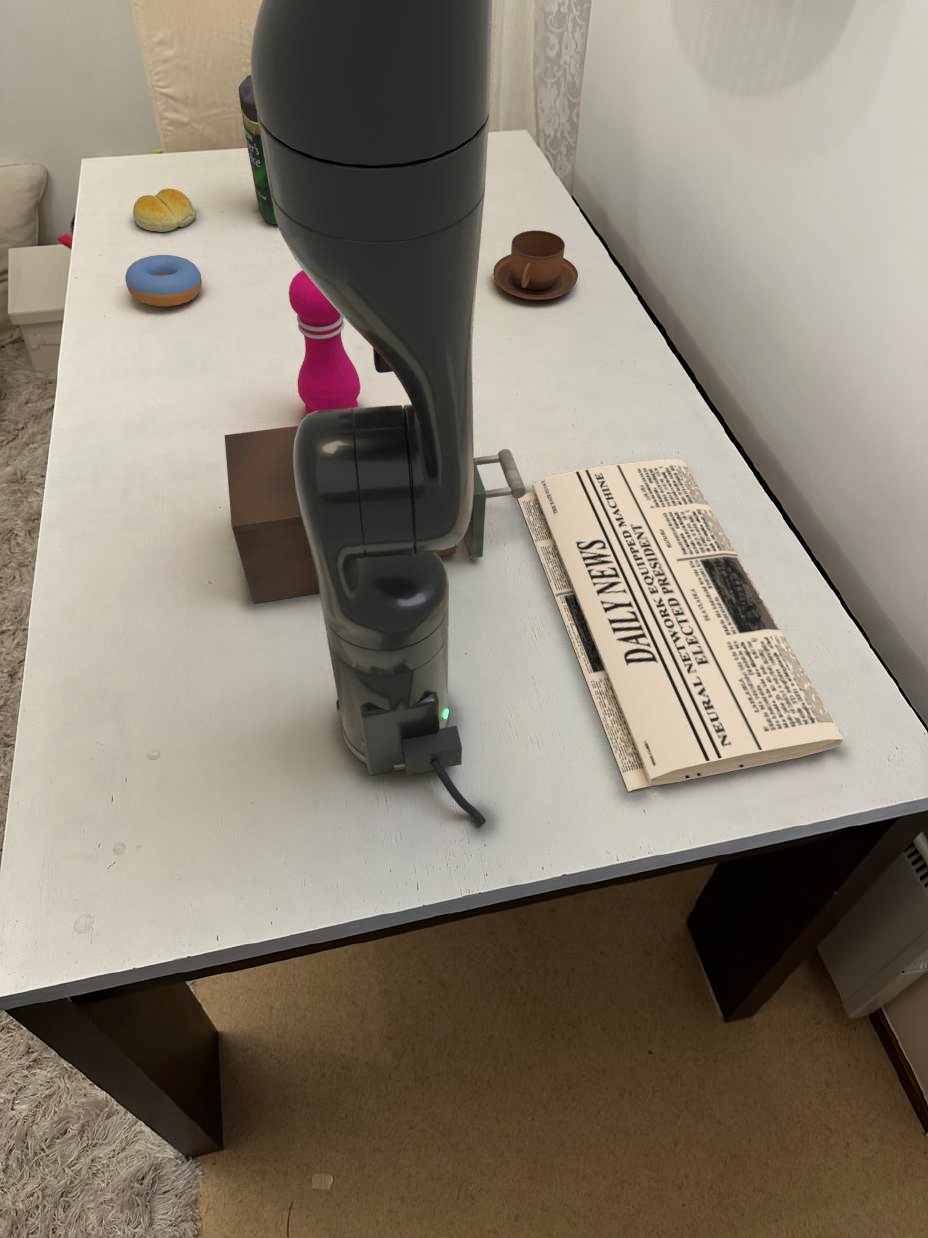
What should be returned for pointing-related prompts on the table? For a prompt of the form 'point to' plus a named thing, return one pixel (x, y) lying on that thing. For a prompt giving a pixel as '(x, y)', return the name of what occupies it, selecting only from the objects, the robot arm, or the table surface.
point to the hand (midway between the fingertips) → (380, 339)
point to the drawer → (477, 520)
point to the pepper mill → (322, 350)
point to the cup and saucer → (536, 267)
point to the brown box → (268, 515)
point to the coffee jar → (256, 150)
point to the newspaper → (670, 626)
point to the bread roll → (163, 211)
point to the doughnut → (163, 280)
